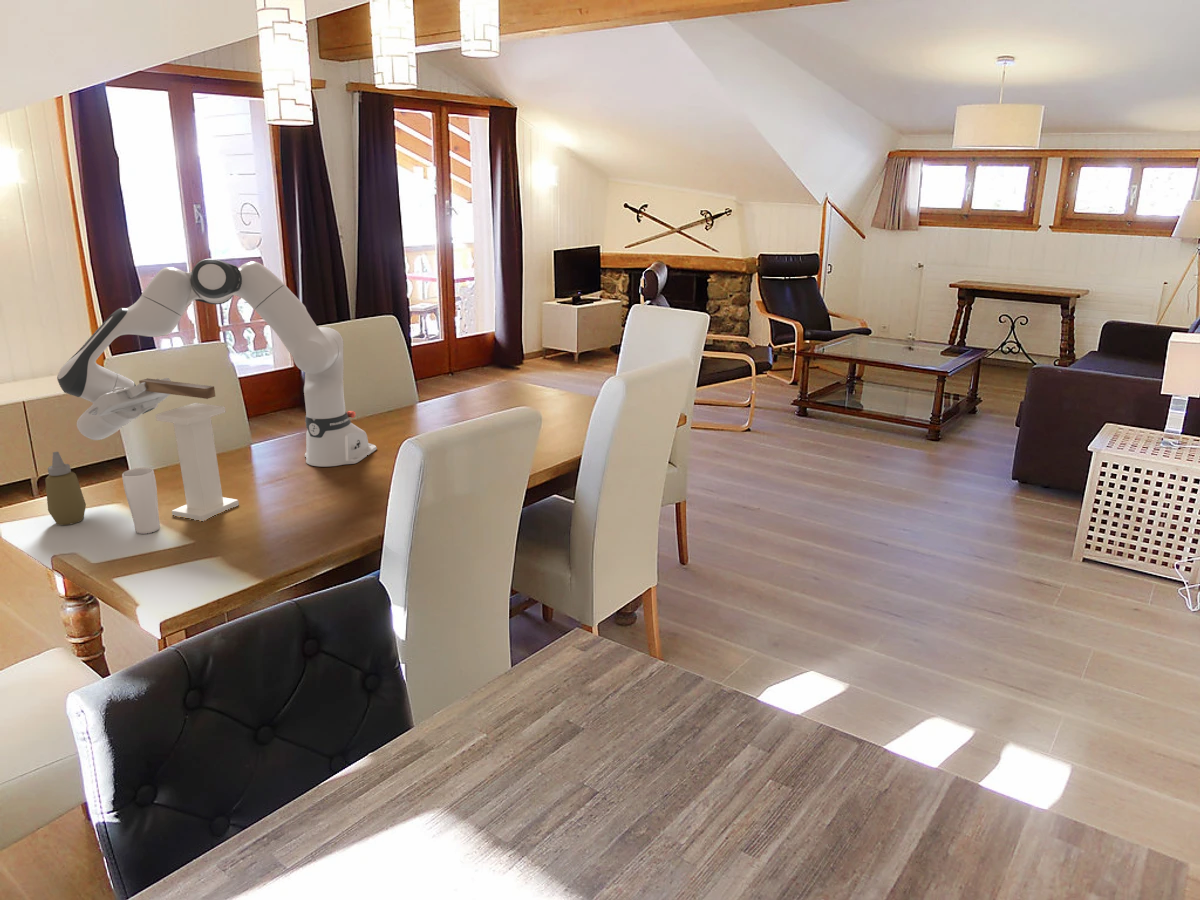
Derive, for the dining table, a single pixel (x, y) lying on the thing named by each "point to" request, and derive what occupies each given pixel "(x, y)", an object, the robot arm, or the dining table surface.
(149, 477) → the drinking glass
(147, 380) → the walnut bar
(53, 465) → the squeeze bottle
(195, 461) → the shelf stand
